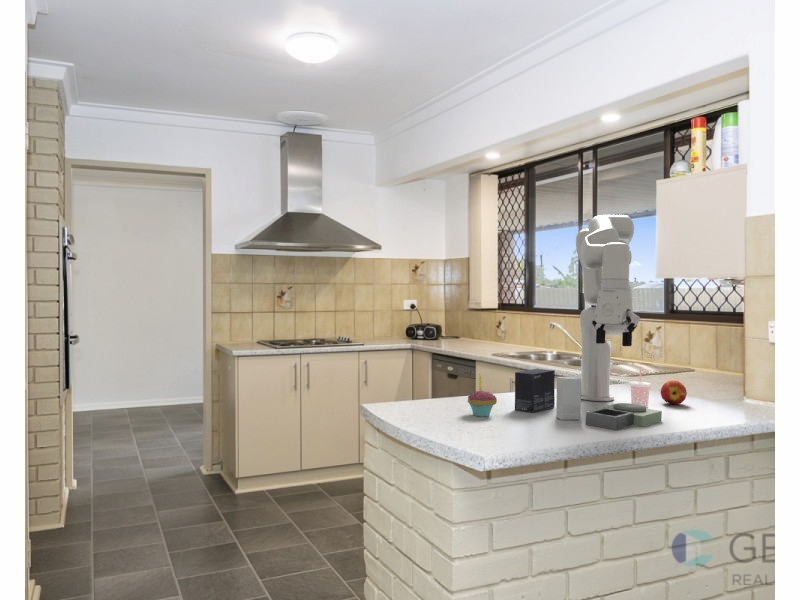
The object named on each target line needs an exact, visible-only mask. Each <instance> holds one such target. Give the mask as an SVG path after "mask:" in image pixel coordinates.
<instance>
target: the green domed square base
mask: <svg viewBox="0 0 800 600" xmlns="http://www.w3.org/2000/svg"><path fill="white" fill-rule="evenodd" d="M602 408H608V409H614V410H620V411H626V412H632V413H634V425H633V426H636V427H641V428H643V427H646V426H650V425H653V424H657V423H660V422H662V416H663V411H662V410H658V409H653V408H652V409H651V408H648V409H646V406H643V405H638V404H631V402H629V403H627V402H618V403H614V404H610V405H606V406H600V407H596V409H595V410H597V409H602Z"/></svg>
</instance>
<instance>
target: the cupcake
mask: <svg viewBox="0 0 800 600" xmlns="http://www.w3.org/2000/svg"><path fill="white" fill-rule="evenodd" d="M478 382H479V383H478V387H479V388H478V389H479V390H477V391H474V392H472V393H470V394H469V395H468V396H467V403H468V404H469V406H470V407H471V412H472V415H473V416H475V417H481V418H482V417H489V416H490V414H491V412H492V409H493V407H494V405H496V404H497V403H498V401H497V400H498V399H497V397H496V395H494V394H493V393H492V392H490V391H485V390H483V389H482V388H483V387H482V386H483V385H482V375H481V374H480V373H479V375H478Z"/></svg>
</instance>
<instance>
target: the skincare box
mask: <svg viewBox="0 0 800 600" xmlns="http://www.w3.org/2000/svg"><path fill="white" fill-rule="evenodd" d="M581 405H582V399H581V377H577V376H556V409H555V410H556V413H555V414H556V418H558V419H559V420H560V421H561V420H562V421H570V420H572V421H573V420H576V421H577V420H581V419H582V418H581V415H582V414H581V411H582V408H581V407H582V406H581Z"/></svg>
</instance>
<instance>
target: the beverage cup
mask: <svg viewBox="0 0 800 600" xmlns="http://www.w3.org/2000/svg"><path fill="white" fill-rule="evenodd" d="M642 369H643V368H642V366H639V381H635V380H634V381H629V385H630V398H631V399H630V404H638V405H643V406H646V409H649V398H650V397H649V396H650V389H651V388H650V387H651V385H652V384H651V382H647V381H642Z"/></svg>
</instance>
